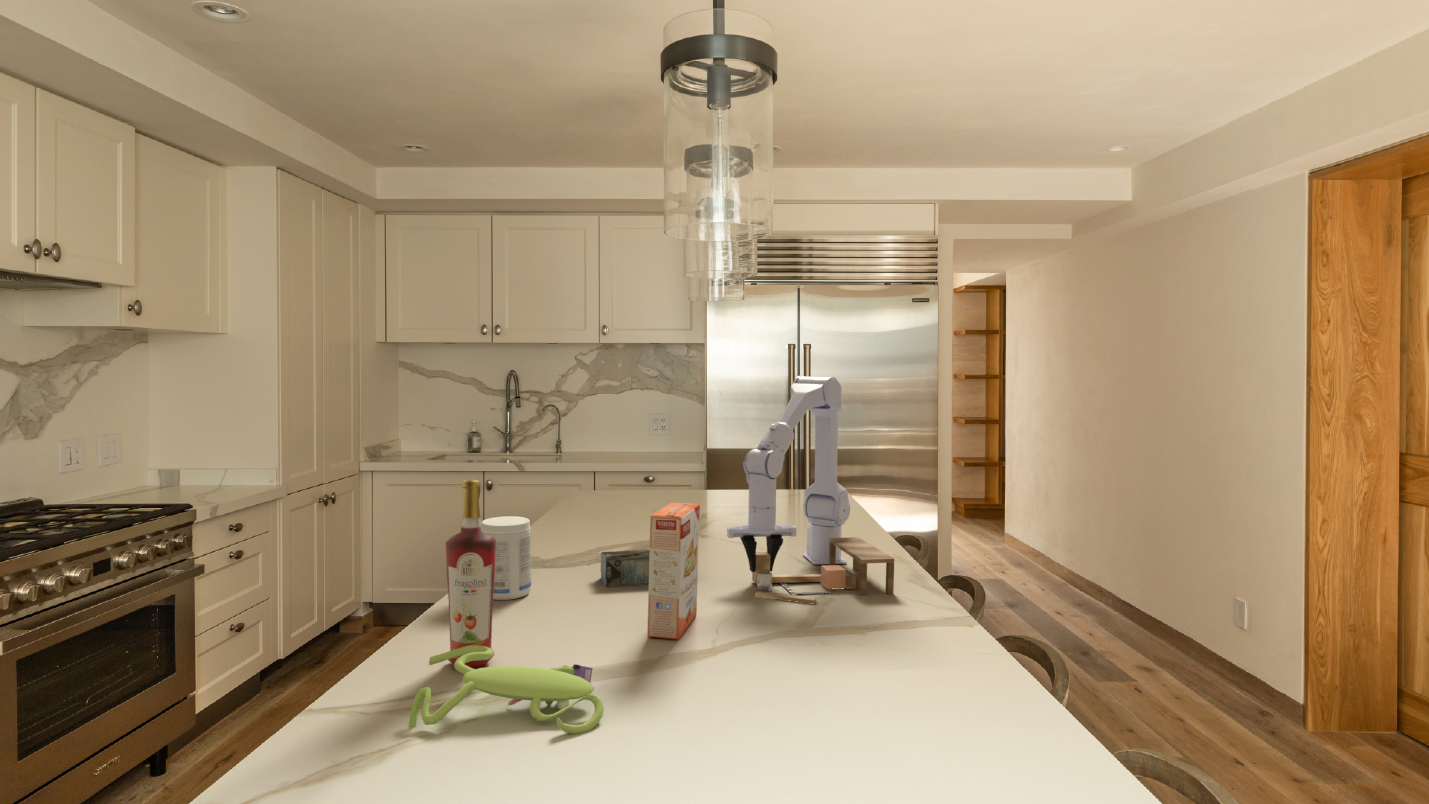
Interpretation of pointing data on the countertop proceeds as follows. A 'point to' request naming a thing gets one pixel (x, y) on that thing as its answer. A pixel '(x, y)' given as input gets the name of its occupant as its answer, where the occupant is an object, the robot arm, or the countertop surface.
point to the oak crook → (764, 566)
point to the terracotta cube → (833, 576)
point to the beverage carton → (625, 568)
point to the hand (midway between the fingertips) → (760, 570)
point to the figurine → (515, 687)
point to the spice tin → (764, 581)
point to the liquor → (470, 578)
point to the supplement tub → (510, 555)
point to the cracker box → (673, 569)
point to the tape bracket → (802, 592)
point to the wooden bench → (863, 559)
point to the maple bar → (785, 597)
